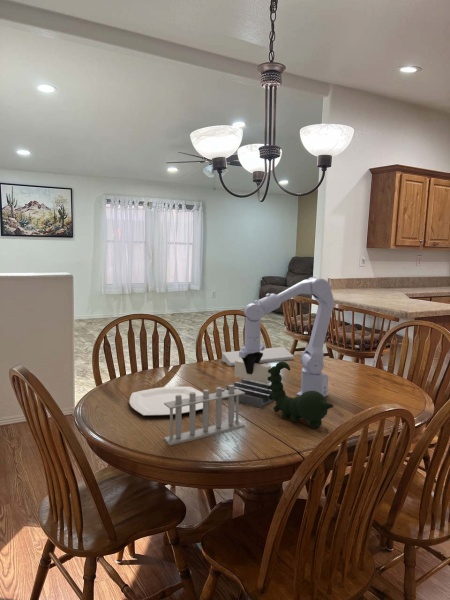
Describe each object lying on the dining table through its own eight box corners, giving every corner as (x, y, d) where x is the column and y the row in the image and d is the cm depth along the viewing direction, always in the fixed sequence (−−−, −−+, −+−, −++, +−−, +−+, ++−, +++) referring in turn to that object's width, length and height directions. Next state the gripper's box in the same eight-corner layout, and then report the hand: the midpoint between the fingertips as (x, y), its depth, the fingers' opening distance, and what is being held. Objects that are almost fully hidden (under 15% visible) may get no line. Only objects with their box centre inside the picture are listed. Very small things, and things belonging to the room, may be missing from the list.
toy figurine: (262, 418, 143) (324, 437, 123) (260, 361, 142) (322, 372, 122) (282, 411, 149) (343, 429, 129) (280, 357, 148) (341, 367, 128)
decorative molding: (292, 364, 213) (282, 355, 221) (293, 356, 211) (283, 346, 219) (229, 371, 199) (221, 361, 207) (230, 362, 197) (222, 352, 206)
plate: (124, 396, 157) (124, 391, 157) (194, 388, 167) (194, 383, 167) (136, 424, 133) (136, 418, 132) (218, 413, 142) (218, 408, 142)
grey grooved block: (282, 395, 160) (283, 387, 160) (261, 408, 147) (261, 399, 146) (242, 385, 170) (242, 378, 170) (218, 396, 157) (218, 389, 157)
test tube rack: (236, 422, 135) (237, 381, 133) (244, 427, 131) (245, 385, 130) (163, 439, 122) (163, 395, 120) (170, 446, 118) (169, 400, 117)
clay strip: (270, 382, 155) (271, 365, 154) (267, 383, 153) (267, 367, 152) (238, 374, 163) (238, 359, 162) (234, 376, 161) (234, 360, 160)
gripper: (253, 332, 164) (252, 366, 166) (232, 338, 152) (231, 375, 154) (269, 334, 160) (268, 369, 162) (249, 341, 148) (248, 379, 150)
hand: (251, 372), depth 157 cm, fingers closed on clay strip, 2 cm apart
